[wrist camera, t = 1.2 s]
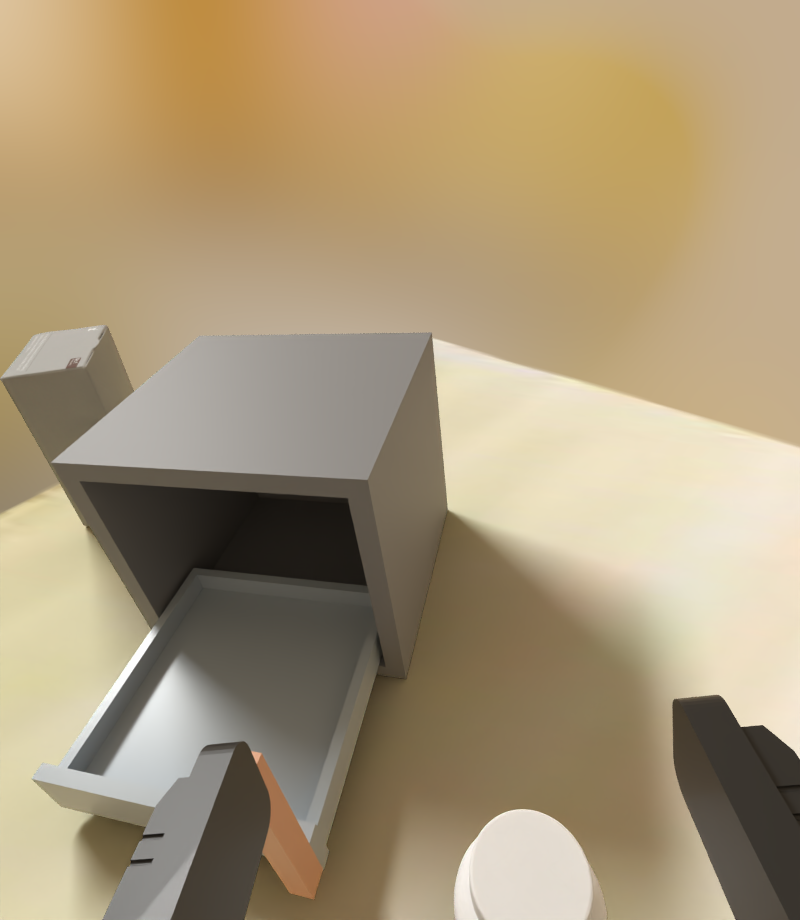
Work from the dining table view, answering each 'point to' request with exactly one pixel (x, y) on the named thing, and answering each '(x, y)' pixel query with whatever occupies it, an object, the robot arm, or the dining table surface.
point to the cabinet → (275, 471)
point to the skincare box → (66, 387)
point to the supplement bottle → (526, 873)
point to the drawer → (236, 707)
